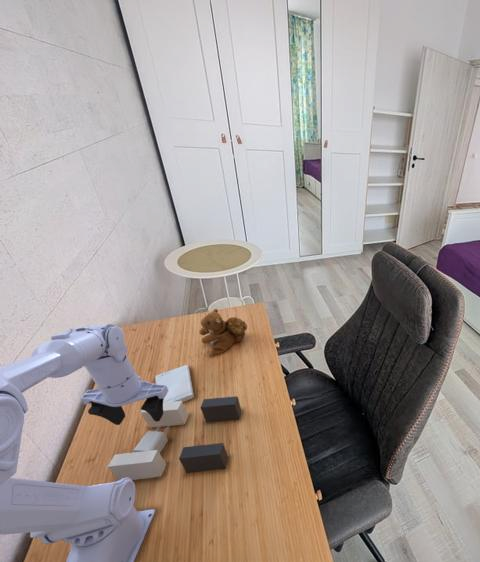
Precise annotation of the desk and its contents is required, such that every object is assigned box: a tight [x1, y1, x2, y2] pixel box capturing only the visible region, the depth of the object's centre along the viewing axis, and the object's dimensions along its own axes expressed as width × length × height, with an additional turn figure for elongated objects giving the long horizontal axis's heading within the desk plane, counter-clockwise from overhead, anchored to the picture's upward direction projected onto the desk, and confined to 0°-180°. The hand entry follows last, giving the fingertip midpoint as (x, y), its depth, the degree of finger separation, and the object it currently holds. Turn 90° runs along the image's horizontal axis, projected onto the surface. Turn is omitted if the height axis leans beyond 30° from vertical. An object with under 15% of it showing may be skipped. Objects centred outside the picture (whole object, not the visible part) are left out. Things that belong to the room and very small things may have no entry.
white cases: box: [107, 401, 189, 481], centre depth 65 cm, size 14×8×6 cm, turn 9°
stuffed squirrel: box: [198, 308, 248, 357], centre depth 93 cm, size 10×14×13 cm
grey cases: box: [178, 395, 242, 474], centre depth 67 cm, size 14×8×6 cm, turn 9°
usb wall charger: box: [132, 425, 171, 454], centre depth 65 cm, size 4×7×4 cm, turn 178°
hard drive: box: [154, 364, 195, 403], centre depth 79 cm, size 2×8×12 cm
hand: (140, 418), depth 62 cm, fingers open, 7 cm apart
